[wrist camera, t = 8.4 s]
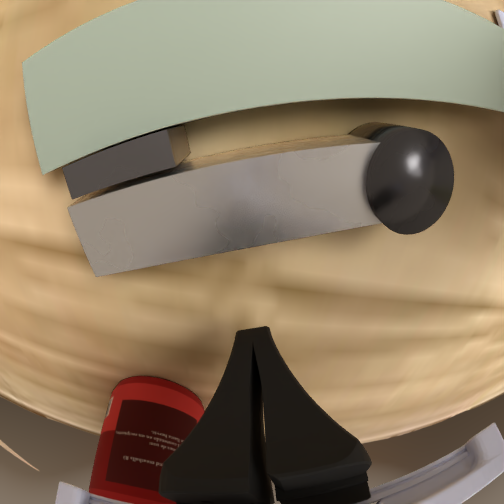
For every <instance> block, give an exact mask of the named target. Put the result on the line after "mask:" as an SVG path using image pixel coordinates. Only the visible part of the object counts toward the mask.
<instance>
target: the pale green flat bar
mask: <svg viewBox="0 0 504 504" xmlns="http://www.w3.org/2000/svg"><path fill="white" fill-rule="evenodd" d="M22 67H23V78H24V88H25V95H26V102H27V109H28V115H29V120H30V125H31V130H32V135H33V140H34V144H35V148H36V152H37V156H38V160H39V164H40V167H41V171H42V174H43V175H44V174H46V173H48V172H51V171H53V170H55V169H57V168H60V167H62V166H64V165H67V164H69V163H71V162H73V161H76V160H78V159H80V158H83V157H85V156H87V155H90V154H92V153H95V152H97V151H100V150H102V149H105V148H108V147H110V146H113V145H116V144H118V143H121V142H124V141H127V140H130V139H133V138H136V137H139V136H142V135H145V134H148V133H151V132H155V131H158V130H161V129H165V128H168V127H172V126H175V125H179V124H183V123H187V122H191V121H195V120H199V119H203V118H207V117H212V116H216V115H221V114H226V113H231V112H236V111H242V110H247V109H253V108H259V107H266V106H273V105H280V104H289V103H298V102H308V101H320V100H335V99H370V98H375V99H409V100H424V101H435V102H445V103H453V104H460V105H467V106H473V107H479V108H484V109H490V110H494V111H499V112H504V29H503V28H501V27H499V26H497V25H496V24H494V23H492V22H490V21H488V20H486V19H484V18H482V17H480V16H478V15H476V14H474V13H472V12H470V11H468V10H465V9H463V8H461V7H459V6H456V5H454V4H451V3H449V2H446V1H444V0H137V1H135V2H132V3H129V4H127V5H124V6H122V7H119V8H117V9H114V10H112V11H110V12H108V13H105V14H103V15H101V16H99V17H97V18H95V19H93V20H91V21H89V22H87V23H85V24H83V25H81V26H79V27H77V28H75V29H73V30H72V31H70V32H68V33H66V34H65V35H63V36H61V37H60V38H58V39H56V40H55V41H53V42H51V43H50V44H48V45H47V46H45V47H44V48H42V49H41V50H39V51H38V52H36V53H35V54H33V55H32V56H31V57H29V58H28V59H27V60H25V61H24V62H22Z"/></svg>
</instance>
